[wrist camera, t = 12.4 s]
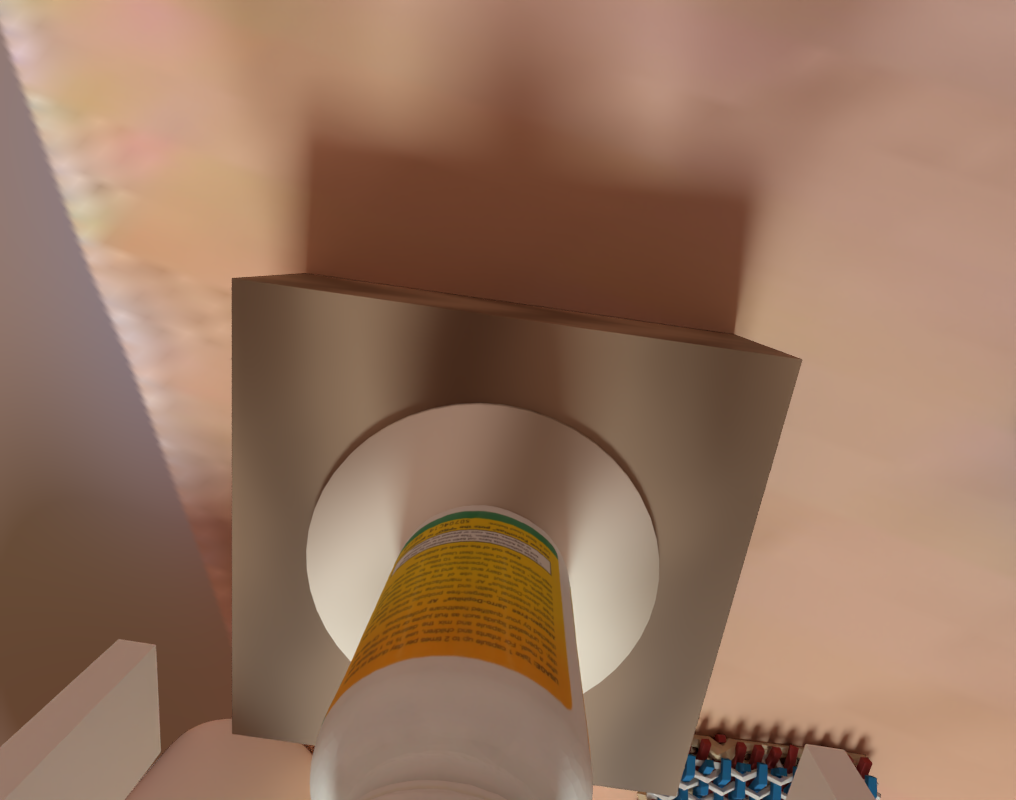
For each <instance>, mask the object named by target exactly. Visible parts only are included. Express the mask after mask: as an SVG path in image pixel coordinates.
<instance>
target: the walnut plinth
mask: <svg viewBox="0 0 1016 800" xmlns="http://www.w3.org/2000/svg"><path fill="white" fill-rule="evenodd" d="M801 363H802V359H800V358H797V357H794V356H792V355H789V354H786V353H783V352H781V351H778V350H775V349H773V348H770V347H767V346H764V345H762V344H759V343H756V342H754V341H751V340H748V339H745V338H743V337H740V336H737V335H734V334H728V333H721V332H714V331H707V330H700V329H693V328H686V327H679V326H672V325H665V324H658V323H651V322H644V321H637V320H630V319H622V318H615V317H608V316H601V315H594V314H587V313H580V312H573V311H566V310H559V309H552V308H545V307H538V306H531V305H524V304H517V303H510V302H503V301H496V300H489V299H482V298H475V297H468V296H461V295H454V294H447V293H440V292H433V291H426V290H419V289H412V288H405V287H398V286H391V285H384V284H377V283H370V282H363V281H356V280H349V279H342V278H335V277H328V276H321V275H314V274H307V273H302V274H287V275H272V276H257V277H242V278H232V734H236V735H243V736H250V737H257V738H264V739H272V740H279V741H286V742H293V743H300V744H307V745H314V746H315V744H316V741H317V738H318V735H319V732H320V730H321V726H322V723H323V720H324V718H325V715H326V713H327V711H328V709H329V707H330V705H331V703H332V701H333V699H334V697H335V695H336V693H337V691H338V689H339V687H340V684H341V682H342V680H343V678H344V676H345V674H346V672H347V670H348V667H349V665H350V663H351V661H352V659H353V656H354V654H355V652H356V649H357V647H358V645H359V642H360V640H361V637H362V635H363V633H364V631H365V629H366V626H367V624H368V622H369V620H370V617H371V615H372V613H373V611H374V609H375V607H376V604H377V602H378V600H379V597H380V595H381V593H382V591H383V588H384V586H385V584H386V582H387V580H388V577H389V575H390V573H391V571H392V569H393V567H394V564H395V562H396V560H397V558H398V556H399V554H400V552H401V550H402V548H403V546H404V545H405V543H406V542H407V540H408V539H409V537H410V536H411V535H412V534H413V533H414V532H415V530H416V529H417V528H418V527H419V526H420V525H422V524H423V523H424V522H425V521H427V520H428V519H430V518H431V517H433V516H435V515H437V514H439V513H442V512H444V511H447V510H449V509H453V508H457V507H462V506H470V505H487V506H494V507H498V508H502V509H505V510H509V511H511V512H513V513H515V514H518V515H520V516H522V517H524V518H525V519H528V520H529V521H530V522H532V523H534V524H535V525H536V526H538V527H539V528H541V529H542V530H543V531H545V532H546V533H547V534H548V536H549V537H550V538H551V539H552V541H553V542H554V544H555V545H556V546H557V548H558V549H559V551H560V553H561V555H562V557H563V560H564V562H565V565H566V568H567V571H568V576H569V582H570V587H571V596H572V604H573V613H574V622H575V633H576V643H577V651H578V659H579V667H580V674H581V681H582V689H583V698H584V705H585V713H586V720H587V729H588V737H589V745H590V755H591V764H592V776H593V785H597V786H604V787H611V788H618V789H625V790H632V791H639V792H646V793H653V794H660V795H667V796H675V797H676V795H677V791H678V788H679V785H680V781H681V778H682V774H683V771H684V767H685V764H686V760H687V757H688V753H689V750H690V747H691V743H692V740H693V736H694V733H695V729H696V726H697V722H698V719H699V715H700V712H701V708H702V705H703V702H704V698H705V695H706V691H707V688H708V684H709V681H710V677H711V674H712V670H713V667H714V663H715V660H716V657H717V653H718V650H719V646H720V643H721V639H722V636H723V632H724V629H725V625H726V622H727V619H728V615H729V612H730V608H731V605H732V601H733V598H734V594H735V591H736V587H737V584H738V580H739V577H740V574H741V570H742V567H743V563H744V560H745V556H746V553H747V549H748V546H749V542H750V539H751V536H752V532H753V529H754V525H755V522H756V518H757V515H758V511H759V508H760V504H761V501H762V497H763V494H764V491H765V487H766V484H767V480H768V477H769V473H770V470H771V466H772V463H773V459H774V456H775V452H776V449H777V446H778V442H779V439H780V435H781V432H782V428H783V425H784V421H785V418H786V414H787V411H788V408H789V404H790V401H791V397H792V394H793V390H794V387H795V383H796V380H797V376H798V373H799V369H800V366H801Z"/></svg>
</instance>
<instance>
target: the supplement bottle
mask: <svg viewBox="0 0 1016 800" xmlns="http://www.w3.org/2000/svg"><path fill="white" fill-rule="evenodd" d="M592 794H593V776H592V764H591V755H590V745H589V737H588V729H587V720H586V713H585V705H584V698H583V689H582V681H581V674H580V667H579V659H578V651H577V643H576V633H575V622H574V613H573V604H572V596H571V587H570V582H569V576H568V571H567V568H566V565H565V562H564V560H563V557H562V555H561V553H560V551H559V549H558V548H557V546H556V545H555V544H554V542H553V541H552V539H551V538H550V537H549V536H548V534H547V533H546V532H545V531H543V530H542V529H541V528H539V527H538V526H536V525H535V524H534V523H532V522H530V521H529V520H528V519H525V518H524V517H522V516H520V515H518V514H515V513H513V512H511V511H509V510H505V509H502V508H498V507H494V506H487V505H470V506H462V507H457V508H453V509H449V510H447V511H444V512H442V513H439V514H437V515H435V516H433V517H431V518H430V519H428V520H427V521H425V522H424V523H423V524H422V525H420V526H419V527H418V528H417V529H416V530H415V532H414V533H413V534H412V535H411V536H410V537H409V539H408V540H407V542H406V543H405V545H404V546H403V548H402V550H401V552H400V554H399V556H398V558H397V560H396V562H395V564H394V567H393V569H392V571H391V573H390V575H389V577H388V580H387V582H386V584H385V586H384V588H383V591H382V593H381V595H380V597H379V600H378V602H377V604H376V607H375V609H374V611H373V613H372V615H371V617H370V620H369V622H368V624H367V626H366V629H365V631H364V633H363V635H362V637H361V640H360V642H359V645H358V647H357V649H356V652H355V654H354V656H353V659H352V661H351V663H350V665H349V667H348V670H347V672H346V674H345V676H344V678H343V680H342V682H341V684H340V687H339V689H338V691H337V693H336V695H335V697H334V699H333V701H332V703H331V705H330V707H329V709H328V711H327V713H326V715H325V718H324V720H323V723H322V726H321V730H320V732H319V735H318V738H317V741H316V744H315V748H314V752H313V756H312V761H311V769H310V796H311V800H592Z"/></svg>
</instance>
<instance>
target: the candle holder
mask: <svg viewBox="0 0 1016 800" xmlns="http://www.w3.org/2000/svg"><path fill="white" fill-rule="evenodd" d="M312 756H313V755H312V753H311V752H310V751H309V750H308V749H307V748H306V747H305V746H304V745H303V744H300V743H293V742H286V741H279V740H272V739H264V738H257V737H250V736H243V735H236V734H232V718H230V719H218V720H213V721H209V722H205V723H202V724H199V725H197V726H195V727H193V728H191V729H189V730H188V731H186V732H185V733H183V734H182V735H181V736H179V737H178V738H177V739H176V740H175V741H174V742H173V743H172V744H171V745H170V746H169V747H168V748H167V749H166V751H165V752H164V753H163V754H162V755H161V756H160V758H159V759H158V760H157V761H156V762H155V764H154V765H153V766H152V767H151V768H150V769H149V771H148V772H147V773H146V774H145V775H144V777H143V778H142V779H141V780H140V781H139V783H138V784H137V785H136V786H135V788H134V789H133V790H132V791H131V792H130V794H129V795H128V796H127V797H126V799H125V800H311V796H310V769H311V761H312Z"/></svg>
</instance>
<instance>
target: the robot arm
mask: <svg viewBox="0 0 1016 800" xmlns="http://www.w3.org/2000/svg"><path fill="white" fill-rule="evenodd" d="M159 720H160V718H159V697H158V676H157V653H156V645H155V644H148V643H142V642H135V641H128V640H122V639H118V640H117V641H116V642H115V643H114V644H113V645H112V646H111V647H110V648H108V650H106V651H105V652H104V653H103V654H102V655H101V656H100V657H99V658H98V659H96V660H95V661H94V662H93V663H92V664H91V665H90V666H89V667H88V668H86V669H85V670H84V671H83V672H82V673H81V674H80V675H79V676H78V677H77V678H76V679H74V680H73V681H72V682H71V683H70V684H69V685H68V686H67V687H66V688H65V689H63V690H62V691H61V692H60V693H59V694H58V695H57V696H56V697H55V698H54V699H53V700H51V702H49V703H48V704H47V705H46V706H45V707H44V708H43V709H42V710H41V711H39V712H38V713H37V714H36V715H35V716H34V717H33V718H32V719H31V720H30V721H28V722H27V723H26V724H25V725H24V726H23V727H22V728H21V729H20V730H19V731H18V732H17V733H15V734H14V735H13V736H12V737H11V738H10V739H9V740H8V741H7V742H5V743H4V744H3V745H2V746H1V747H0V800H125V799H126V797H127V796H128V795H129V793H130V792H131V791H132V789H133V788H134V787H135V785H136V784H137V782H138V781H139V780H140V779H141V777H142V776H143V775H144V773H145V772H146V771H147V769H148V768H149V767H150V766H151V764H152V763H153V761H154V760H155V759H156V757H157V756H158V755H159V754H160V752H161V741H160V721H159ZM786 800H876V799H875V798H874V796H873V794H872V793H871V791H870V790H869V788H868V786H867V785H866V783H865V782H864V780H863V779H862V777H861V775H860V774H859V772H858V771H857V769H856V767H855V766H854V764H853V763H852V761H851V760H850V758H849V756H848V755H847V753H846V752H845V750H843V749H836V748H830V747H823V746H817V745H810V744H806V745H805V747H804V750H803V753H802V756H801V758H800V761H799V764H798V767H797V770H796V772H795V775H794V778H793V781H792V783H791V786H790V789H789V792H788V794H787V797H786Z"/></svg>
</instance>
